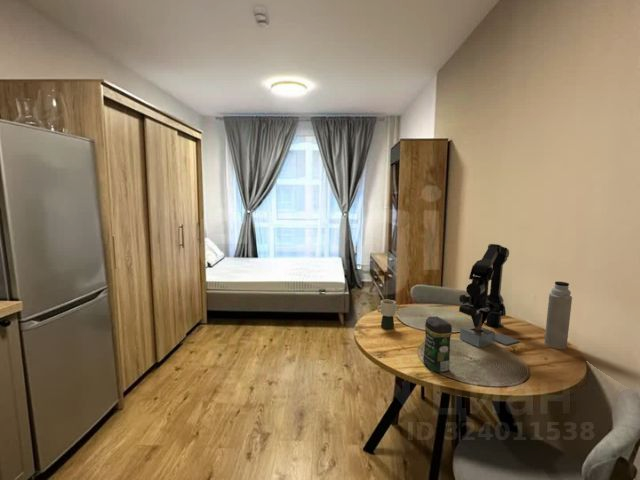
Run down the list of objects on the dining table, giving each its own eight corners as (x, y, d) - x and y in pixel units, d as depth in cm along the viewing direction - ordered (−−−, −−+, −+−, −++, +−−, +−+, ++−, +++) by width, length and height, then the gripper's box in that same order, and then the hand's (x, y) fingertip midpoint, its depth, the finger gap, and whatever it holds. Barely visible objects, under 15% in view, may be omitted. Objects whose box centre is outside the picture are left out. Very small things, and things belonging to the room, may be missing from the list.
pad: (500, 334, 157) (500, 333, 157) (519, 342, 149) (519, 340, 149) (487, 337, 153) (487, 336, 153) (505, 345, 145) (505, 344, 145)
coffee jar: (419, 361, 130) (422, 315, 128) (438, 359, 131) (441, 314, 129) (433, 374, 120) (436, 324, 118) (452, 372, 122) (456, 323, 120)
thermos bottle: (542, 340, 151) (548, 279, 148) (562, 343, 149) (569, 281, 145) (547, 347, 144) (553, 283, 140) (569, 350, 141) (576, 285, 138)
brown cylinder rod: (477, 333, 151) (478, 312, 150) (482, 335, 149) (484, 314, 147) (472, 334, 150) (474, 312, 149) (478, 337, 147) (479, 314, 146)
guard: (475, 335, 156) (476, 324, 156) (494, 343, 147) (495, 332, 147) (459, 338, 152) (460, 328, 151) (478, 347, 143) (479, 336, 142)
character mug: (394, 324, 168) (395, 298, 167) (401, 329, 162) (402, 303, 160) (374, 325, 166) (374, 300, 165) (379, 331, 159) (380, 304, 158)
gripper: (479, 285, 158) (477, 317, 160) (450, 289, 150) (448, 323, 152) (501, 291, 148) (498, 325, 150) (471, 296, 140) (468, 332, 142)
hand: (478, 326), depth 149 cm, fingers closed on brown cylinder rod, 3 cm apart
